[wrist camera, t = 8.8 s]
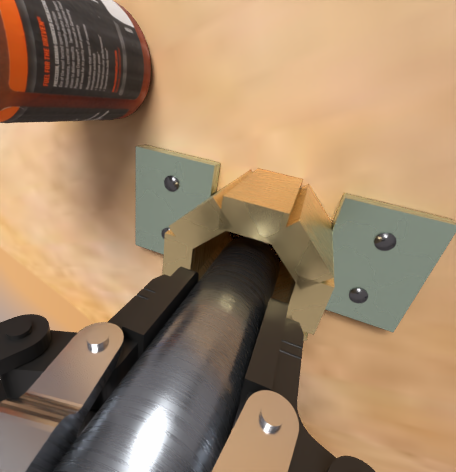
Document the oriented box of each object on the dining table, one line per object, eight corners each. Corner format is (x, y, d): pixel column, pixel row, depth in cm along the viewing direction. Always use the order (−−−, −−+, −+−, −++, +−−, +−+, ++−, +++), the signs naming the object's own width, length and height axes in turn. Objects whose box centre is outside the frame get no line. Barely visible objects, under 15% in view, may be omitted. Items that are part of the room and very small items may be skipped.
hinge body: (145, 141, 17) (66, 153, 12) (453, 215, 13) (534, 280, 8) (143, 241, 20) (81, 284, 15) (388, 323, 17) (415, 417, 11)
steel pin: (219, 220, 13) (-205, 634, 3) (297, 242, 12) (130, 979, 2) (209, 283, 15) (-68, 678, 4) (277, 307, 14) (132, 864, 4)
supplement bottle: (131, -23, 14) (-353, -358, 4) (170, 101, 16) (-92, 80, 6) (55, 29, 16) (-363, -101, 6) (97, 131, 18) (-175, 152, 8)
